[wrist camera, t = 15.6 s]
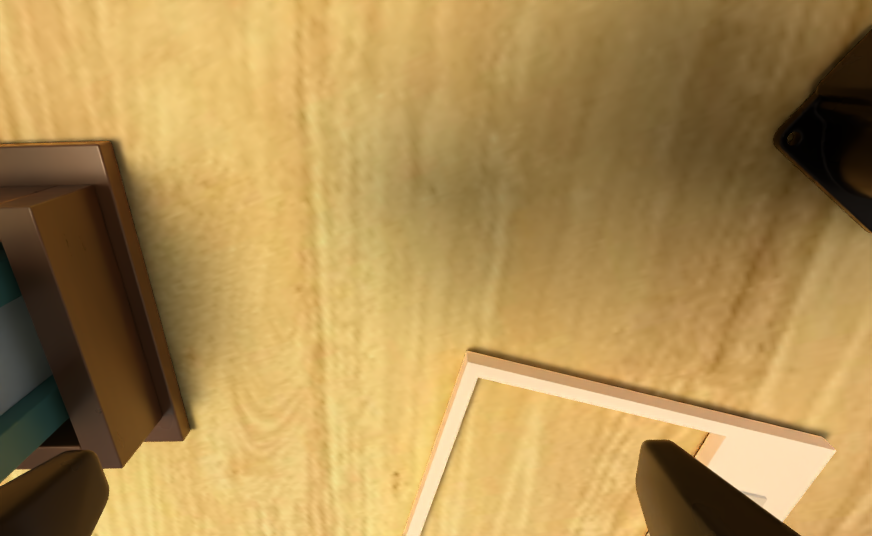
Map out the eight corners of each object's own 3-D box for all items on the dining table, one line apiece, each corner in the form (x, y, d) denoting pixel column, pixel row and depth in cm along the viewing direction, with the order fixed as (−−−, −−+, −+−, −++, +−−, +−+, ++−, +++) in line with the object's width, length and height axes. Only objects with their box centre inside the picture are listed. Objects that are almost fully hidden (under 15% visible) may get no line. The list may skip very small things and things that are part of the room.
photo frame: (694, 644, 28) (389, 585, 27) (685, 623, 29) (391, 565, 28) (839, 453, 23) (467, 364, 21) (822, 436, 24) (466, 350, 22)
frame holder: (111, 140, 19) (32, 159, 15) (191, 430, 24) (146, 496, 21) (-92, 146, 19) (-220, 166, 15) (32, 432, 24) (-41, 498, 21)
